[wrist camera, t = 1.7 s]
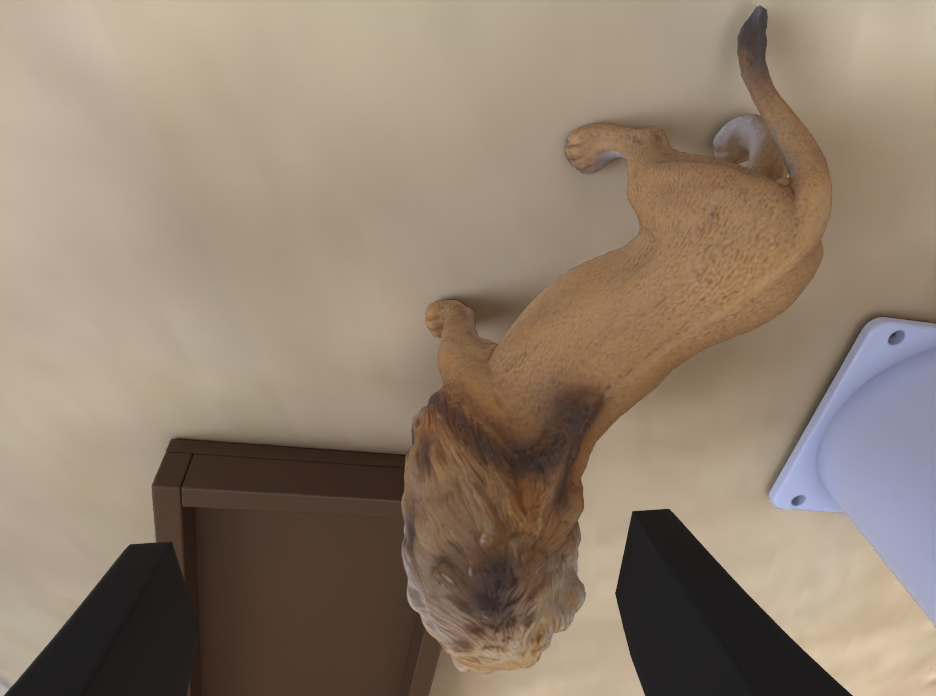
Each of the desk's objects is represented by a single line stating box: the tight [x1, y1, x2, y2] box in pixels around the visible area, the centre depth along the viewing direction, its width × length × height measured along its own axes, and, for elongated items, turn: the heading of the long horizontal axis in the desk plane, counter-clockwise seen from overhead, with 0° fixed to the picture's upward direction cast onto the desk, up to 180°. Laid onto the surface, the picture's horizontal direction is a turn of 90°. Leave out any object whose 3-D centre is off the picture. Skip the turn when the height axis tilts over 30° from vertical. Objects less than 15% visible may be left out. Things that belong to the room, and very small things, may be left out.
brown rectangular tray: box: [152, 439, 442, 696], centre depth 25 cm, size 10×18×2 cm, turn 169°
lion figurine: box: [401, 6, 832, 674], centre depth 15 cm, size 15×5×9 cm, turn 148°
